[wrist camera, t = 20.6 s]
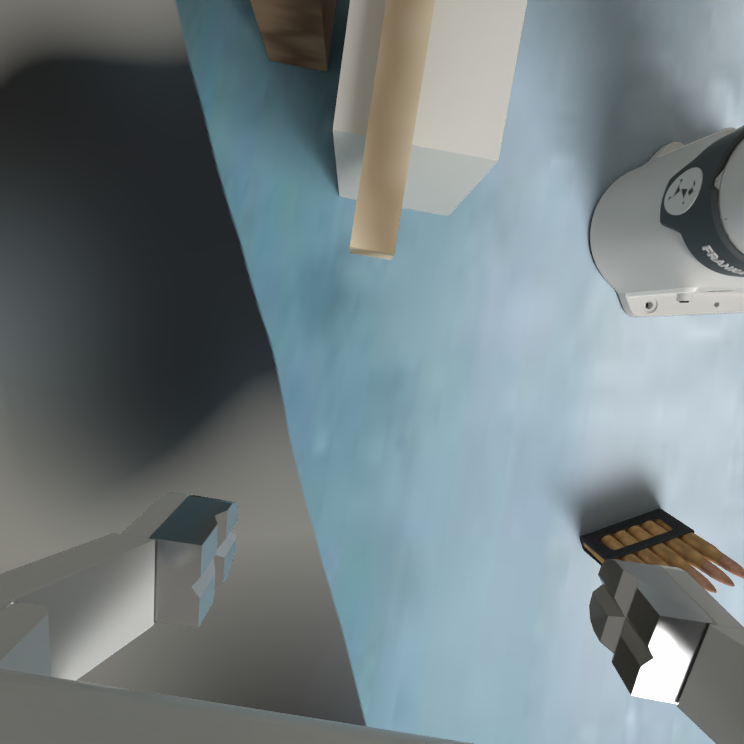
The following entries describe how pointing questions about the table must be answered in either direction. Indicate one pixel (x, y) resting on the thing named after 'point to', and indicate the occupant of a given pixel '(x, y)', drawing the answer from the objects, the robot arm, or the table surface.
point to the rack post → (296, 30)
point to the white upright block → (434, 98)
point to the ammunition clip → (661, 547)
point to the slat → (391, 126)
